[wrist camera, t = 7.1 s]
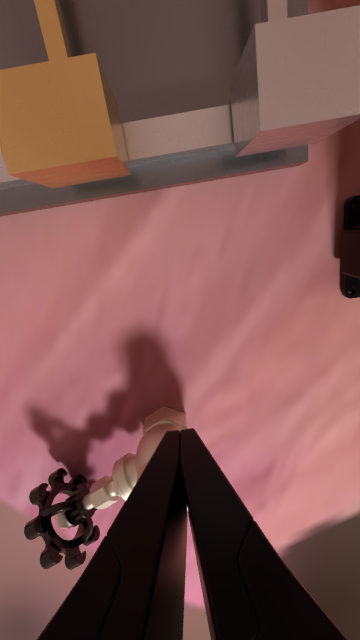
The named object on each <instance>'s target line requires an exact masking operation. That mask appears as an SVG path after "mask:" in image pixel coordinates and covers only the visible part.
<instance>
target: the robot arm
mask: <svg viewBox="0 0 360 640" xmlns="http://www.w3.org/2000/svg"><path fill="white" fill-rule="evenodd" d="M354 201H355V202H356V207H355V208H353V207H352V204H353V202H354ZM341 272H342V290H341V291H342V295H343V296H345V297H347V298H357V297H360V195H359V196H353V197H350V198H349V199H348V200H347V201H346V202H345V206H344V232H343V233H342V239H341ZM350 288H352V292H351V293H349V290H350ZM187 508H188V512H187ZM187 513H188V514H189V521H190V526H191V532H192V538H193V543H194V549H195V554H196V560H197V565H198V571H199V576H200V582H201V587H202V593H203V598H204V604H205V609H206V614H207V620H208V626H209V631H210V636H211V640H347V639H346V638H345V636H344V635H343V634H342V633H341V632H340V630H339V629H338V628H337V627H336V626H335V624H334V623H333V622H332V621H331V619H330V618H329V617H328V616H327V615H326V613H325V612H324V611H323V610H322V609H321V608H320V606H319V605H318V604H317V602H316V601H315V600H314V599H313V598H312V596H311V595H310V594H309V593H308V592H307V590H306V589H305V588H304V587H303V586H302V584H301V583H300V582H299V581H298V580H297V578H296V577H295V576H294V574H293V573H292V572H291V570H290V569H289V568H288V567H287V565H286V564H285V563H284V561H283V560H282V559H281V558H280V556H279V555H278V553H277V552H276V551H275V549H274V548H273V546H272V545H271V543H270V542H269V541H268V539H267V538H266V536H265V535H264V533H263V532H262V530H261V529H260V527H259V526H258V524H257V523H256V521H254V520H253V517H252V516H251V514H250V513H249V511H248V509H247V508H246V506H245V505H244V503H243V502H242V500H241V499H240V497H239V496H238V494H237V493H236V491H235V490H234V488H233V487H232V485H231V484H230V482H229V481H228V479H227V478H226V476H225V475H224V473H223V472H222V470H221V469H220V467H219V466H218V464H217V463H216V461H215V460H214V458H213V457H212V455H211V454H210V452H209V450H208V449H207V447H206V446H205V444H204V443H203V441H202V440H201V438H200V437H199V435H198V434H197V432H196V431H195V430H194V429H193V428H190V429H182V430H181V431H179V430H172V431H167V432H166V433H165V435H164V436H163V438H162V440H161V441H160V443H159V445H158V446H157V448H156V450H155V452H154V453H153V455H152V457H151V458H150V460H149V462H148V464H147V465H146V467H145V469H144V470H143V472H142V474H141V476H140V477H139V479H138V481H137V482H136V484H135V486H134V488H133V489H132V491H131V493H130V494H129V496H128V498H127V500H126V501H125V503H124V505H123V506H122V508H121V510H120V511H119V513H118V515H117V517H116V518H115V520H114V522H113V523H112V525H111V527H110V529H109V530H108V532H107V536H105V537H104V539H103V540H102V542H101V544H100V545H99V547H98V549H97V551H96V552H95V554H94V556H93V557H92V559H91V560H90V562H89V564H88V565H87V567H86V569H85V570H84V572H83V573H82V575H81V577H80V578H79V580H78V581H77V583H76V584H75V586H74V587H73V588H72V590H71V591H70V593H69V595H68V596H67V597H66V599H65V600H64V602H63V603H62V605H61V606H60V607H59V609H58V610H57V612H56V613H55V615H54V616H53V617H52V619H51V620H50V622H49V623H48V624H47V626H46V627H45V629H44V630H43V632H42V633H41V634H40V636H39V637H38V639H37V640H183V619H184V594H185V569H186V544H187Z"/></svg>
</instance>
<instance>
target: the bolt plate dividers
mask: <svg viewBox="0 0 360 640" xmlns="http://www.w3.org/2000/svg"><path fill="white" fill-rule="evenodd" d="M59 4H60V9H61V13H62V17H63V22H64V26H65V30H66V35H67V39H68V44H69V48H70V52H71V57H74V56H80V55H85V54H91V53H96V55H97V57H98V59H99V62H100V64H101V66H102V69H103V71H104V73H105V76H106V78H107V80H108V83H109V85H110V87H111V90H112V92H113V94H114V97H115V99H116V101H117V104H118V109H119V114H120V119H121V124H122V129H123V135H124V140H125V145H126V150H127V155H128V160H129V166H130V171H131V175H128V176H122V177H116V178H111V179H105V180H99V181H93V182H87V183H81V184H76V185H70V186H64V187H58V188H50V187H47V186H43V185H40V184H37V183H34V182H30V181H27V180H24V179H21V178H18V177H14V176H11V175H9V174H8V171H7V167H6V164H5V161H4V158H3V155H2V152H1V149H0V216H5V215H11V214H17V213H23V212H29V211H35V210H41V209H47V208H52V207H58V206H64V205H70V204H76V203H82V202H88V201H94V200H99V199H105V198H111V197H117V196H123V195H129V194H135V193H141V192H146V191H152V190H158V189H164V188H170V187H176V186H182V185H188V184H193V183H199V182H205V181H211V180H217V179H223V178H229V177H235V176H240V175H246V174H252V173H258V172H264V171H270V170H276V169H282V168H287V167H293V166H299V165H301V164H303V163H305V162H308V145H309V144H315V143H317V142H319V141H321V140H323V139H325V138H326V137H328V136H330V135H332V134H334V133H335V132H337V131H339V130H341V129H343V128H344V127H346V126H348V125H350V124H352V123H353V122H355V121H357V120H359V119H360V5H358V6H352V7H347V8H341V9H335V10H330V11H324V12H319V13H313V14H308V15H307V0H59ZM47 61H49V59H48V55H47V51H46V47H45V43H44V39H43V35H42V31H41V27H40V23H39V19H38V15H37V11H36V7H35V3H34V0H0V70H2V69H8V68H13V67H19V66H24V65H30V64H35V63H41V62H47Z"/></svg>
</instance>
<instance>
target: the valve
mask: <svg viewBox="0 0 360 640" xmlns="http://www.w3.org/2000/svg"><path fill="white" fill-rule="evenodd" d="M182 429H187V423H186V414H185V413H182V412H180V411H177V410H174V409H171V408H169V407H166V406H163V407H161V408H159V409H158V410H156V411H155V412H153V413H151V414H150V415H148V416H147V417H145V420H144V427H143V434H144V435H143V437H142V438H141V440H140V442H139V445H138V448H137V452H136V454H135V455H134V454H131V453H129V454H126V455H125V456H123V457H121V458H120V459H118V460H117V461H116V462H115V463H114V466H113V470H112V476H111V477H109V476H105V477H103V478H101V479H100V480H98V481H96V482H95V483H93V484H92V487H91V489H90V488H89V486H88V485H87V484H86V478H85V477H84V476H83V475H82V474H79V475H78V476H76V477H74V478H73V479H71V480H70V481H69V483H64V476H66V475H67V472H66V470H65V469H63V468H60V469H58V470H56V471H55V472H53V473H52V474H50V476H49V479H48V481H49V484H50V486H51V489H50V490H49V491H47V490H46V488H47V487H48V484H46V483H42V484H41V485H39V486H38V487H36V488H34V489H33V490H32V491H31V492H30V495H29V498H30V502H31V503H32V504H33V505H38V506H39V515H38V516H37V517H35V518H34V519H32V520H31V521H29V522H28V523H27V524H26V526H25V529H24V533H25V536H26V538H27V539H29V540H33V539H35V538H37V537H38V536H42V537H43V539H44V541H45V544H46V547H45V549H44V550H43V552H42V553H41V556H40V564H41V566H42V567H43V568H44V569H48V568H50V567H52V566H54V565H56V564H58V563H59V562H60V561H61V560H62V557H63V556H61V555H60V554H59V553H64V554H65V555H66V556H65V565H66V567H67V568H68V569H70V570H72V569H74V568H76V567H78V566H80V565H81V564H83V563H84V561H85V559H86V551H84V552H82V553H81V552H80V550H79V545H81V544H82V543H83V544H84V545H85V546H88V545H90V544H91V543H93V542H95V541H97V540H98V539H99V536H100V531H99V528H98V526H97V525H95V526H94V527H93V522H92V519H91V517H92V516H93V515H94V513H95V511H96V510H97V509H105V508H106V507H108V506H110V505H111V504H113V503H115V502H117V501H118V496H120V497H122V498H123V499H124V500H125V501H126V500H127V498H128V496H129V494H130V493H131V491H132V489H133V488H134V486H135V484H136V482H137V481H138V479H139V477H140V476H141V474H142V472H143V470H144V469H145V467H146V465H147V464H148V462H149V460H150V458H151V457H152V455H153V453H154V452H155V450H156V448H157V446H158V445H159V443H160V441H161V440H162V438H163V436H164V435H165V433H166V432H167V431H172V430H179V431H181V430H182ZM59 493H64V494H67V495H69V496H70V497H69V498H67V499H66V500H65V502H61V503H57V504H54V505H52V502H53V499H54V498H55V496H56V495H57V494H59ZM51 505H52V506H51ZM187 511H188V508H187ZM54 515H55V519H56V522H57V524H58V526H59V528H60V529H66V528H70V527H75V526H77V525H79V527H78V531H77V533H76V535H75V537H74V538H73V539H72V540H69V541H68V540H64V539H62V538H60V537H59V536H58V535H57V534H56V532H55V530H54V529H53V526H52V523H51V517H52V516H54Z"/></svg>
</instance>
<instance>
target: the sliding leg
mask: <svg viewBox="0 0 360 640" xmlns="http://www.w3.org/2000/svg"><path fill="white" fill-rule="evenodd" d="M34 3H35V7H36V11H37V15H38V19H39V23H40V27H41V31H42V35H43V39H44V43H45V47H46V51H47V55H48V59H49V61H47V62H41V63H35V64H30V65H24V66H19V67H13V68H8V69H2V70H0V149H1V152H2V155H3V158H4V161H5V164H6V167H7V171H8V174H9V175H11V176H14V177H18V178H21V179H24V180H27V181H30V182H34V183H37V184H40V185H43V186H47V187H50V188H58V187H64V186H70V185H76V184H81V183H87V182H93V181H99V180H105V179H111V178H116V177H122V176H128V175H131V171H130V166H129V160H128V155H127V150H126V145H125V140H124V135H123V129H122V124H121V119H120V114H119V109H118V104H117V101H116V99H115V97H114V94H113V92H112V90H111V87H110V85H109V83H108V80H107V78H106V76H105V73H104V71H103V69H102V66H101V64H100V62H99V59H98V57H97V55H96V53H91V54H85V55H80V56H74V57H71V52H70V48H69V44H68V39H67V35H66V30H65V26H64V22H63V17H62V13H61V9H60V4H59V0H34Z"/></svg>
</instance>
